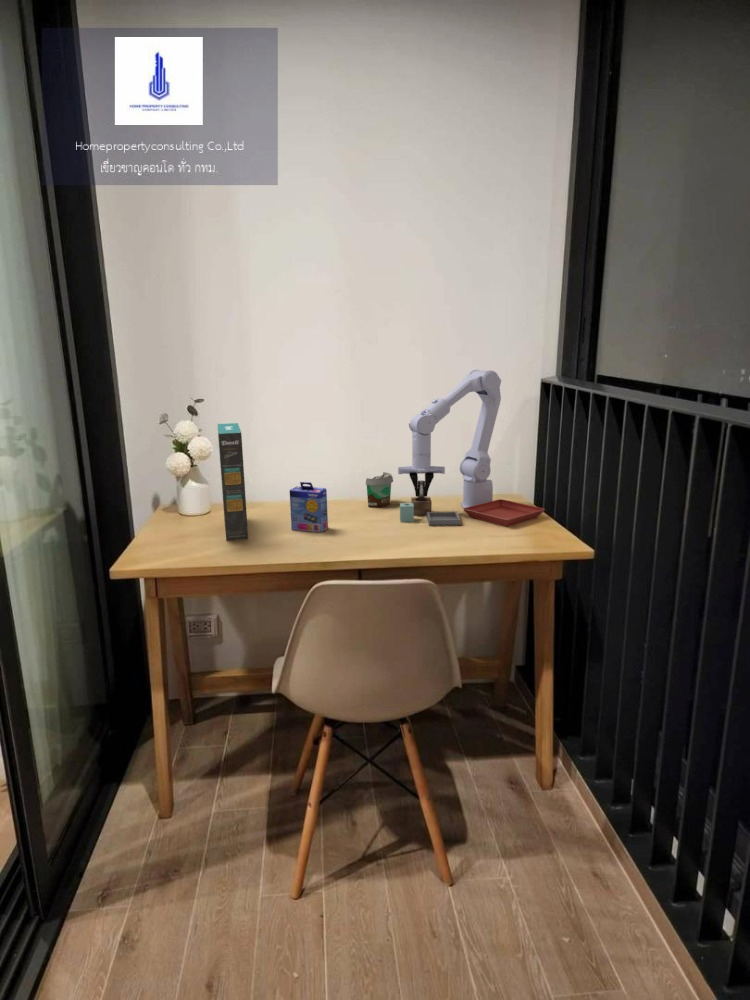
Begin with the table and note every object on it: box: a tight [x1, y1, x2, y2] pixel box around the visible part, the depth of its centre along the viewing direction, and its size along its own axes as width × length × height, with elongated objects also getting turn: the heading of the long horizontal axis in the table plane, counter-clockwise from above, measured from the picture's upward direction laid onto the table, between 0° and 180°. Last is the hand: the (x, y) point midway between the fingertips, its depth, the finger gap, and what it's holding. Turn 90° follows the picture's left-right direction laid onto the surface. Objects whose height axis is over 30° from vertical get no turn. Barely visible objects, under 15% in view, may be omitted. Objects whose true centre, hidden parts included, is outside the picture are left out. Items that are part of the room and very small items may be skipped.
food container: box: [365, 471, 394, 509], centre depth 213 cm, size 12×6×10 cm, turn 150°
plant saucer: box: [462, 498, 545, 528], centre depth 197 cm, size 18×18×3 cm
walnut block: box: [410, 496, 433, 517], centre depth 203 cm, size 6×6×4 cm
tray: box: [426, 511, 462, 527], centre depth 193 cm, size 9×9×2 cm
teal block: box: [399, 502, 415, 523], centre depth 195 cm, size 4×4×5 cm
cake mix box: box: [216, 422, 249, 542], centre depth 185 cm, size 22×6×30 cm, turn 14°
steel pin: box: [418, 479, 425, 501], centre depth 202 cm, size 2×2×7 cm
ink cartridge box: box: [289, 481, 329, 533], centre depth 186 cm, size 10×6×14 cm, turn 72°
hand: (421, 495), depth 202 cm, fingers closed on steel pin, 2 cm apart
